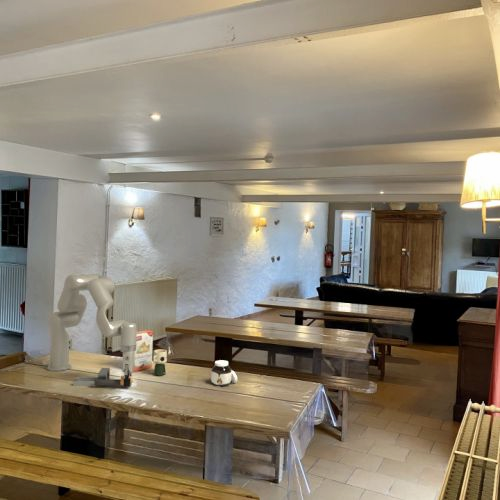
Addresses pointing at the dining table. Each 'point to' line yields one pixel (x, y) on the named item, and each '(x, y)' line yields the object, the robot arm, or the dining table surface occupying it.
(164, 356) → the character mug
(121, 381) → the grey and orange rod
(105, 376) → the tunnel block
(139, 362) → the cracker box
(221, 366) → the spread jar
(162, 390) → the dining table surface
